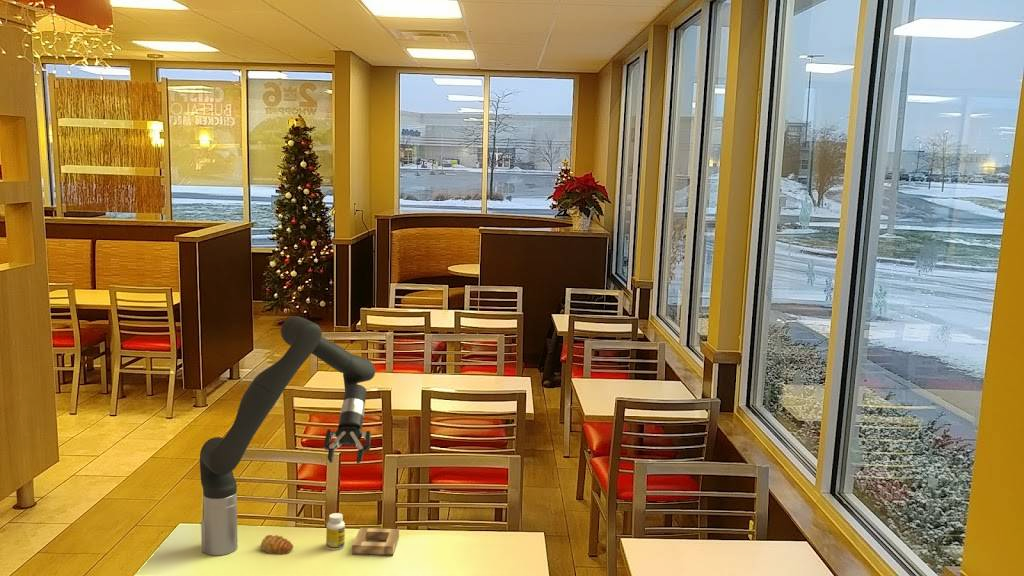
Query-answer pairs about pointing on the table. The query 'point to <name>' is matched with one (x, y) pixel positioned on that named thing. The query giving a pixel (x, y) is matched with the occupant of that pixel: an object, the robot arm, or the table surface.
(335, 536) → the supplement bottle
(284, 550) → the pastry
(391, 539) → the can holder
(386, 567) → the table surface
